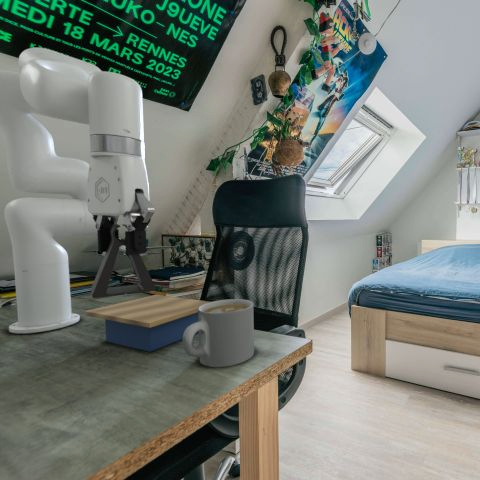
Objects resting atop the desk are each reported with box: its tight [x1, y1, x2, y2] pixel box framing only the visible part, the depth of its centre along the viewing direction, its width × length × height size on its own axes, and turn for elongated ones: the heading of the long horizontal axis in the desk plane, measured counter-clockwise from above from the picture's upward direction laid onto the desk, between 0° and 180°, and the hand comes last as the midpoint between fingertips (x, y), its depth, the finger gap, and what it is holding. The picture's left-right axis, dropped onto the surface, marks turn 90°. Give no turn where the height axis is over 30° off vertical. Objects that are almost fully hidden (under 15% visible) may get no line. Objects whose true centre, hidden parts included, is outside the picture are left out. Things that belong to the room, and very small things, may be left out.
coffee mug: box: [182, 298, 255, 368], centre depth 62 cm, size 13×10×10 cm
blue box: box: [104, 312, 199, 353], centre depth 73 cm, size 14×12×6 cm
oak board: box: [85, 294, 211, 328], centre depth 72 cm, size 20×16×1 cm
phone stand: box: [90, 223, 157, 299], centre depth 57 cm, size 9×6×12 cm, turn 131°
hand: (122, 251), depth 57 cm, fingers closed on phone stand, 6 cm apart
